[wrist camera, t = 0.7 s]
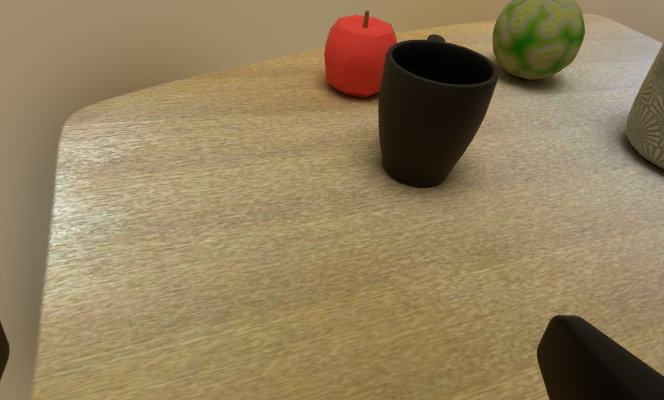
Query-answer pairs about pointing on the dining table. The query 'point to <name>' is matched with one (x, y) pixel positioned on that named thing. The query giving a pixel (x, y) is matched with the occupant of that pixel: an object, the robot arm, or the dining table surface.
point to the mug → (431, 107)
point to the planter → (649, 115)
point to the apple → (357, 54)
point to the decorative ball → (538, 37)
